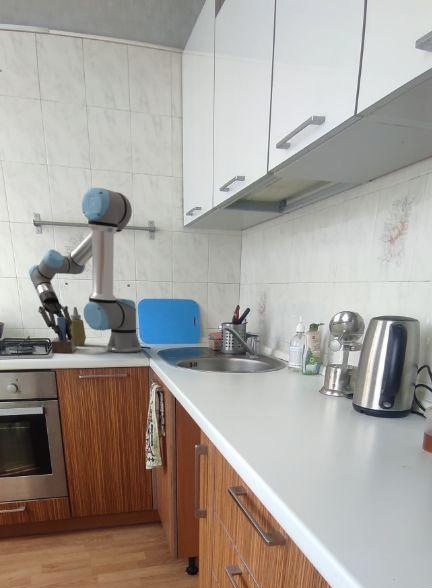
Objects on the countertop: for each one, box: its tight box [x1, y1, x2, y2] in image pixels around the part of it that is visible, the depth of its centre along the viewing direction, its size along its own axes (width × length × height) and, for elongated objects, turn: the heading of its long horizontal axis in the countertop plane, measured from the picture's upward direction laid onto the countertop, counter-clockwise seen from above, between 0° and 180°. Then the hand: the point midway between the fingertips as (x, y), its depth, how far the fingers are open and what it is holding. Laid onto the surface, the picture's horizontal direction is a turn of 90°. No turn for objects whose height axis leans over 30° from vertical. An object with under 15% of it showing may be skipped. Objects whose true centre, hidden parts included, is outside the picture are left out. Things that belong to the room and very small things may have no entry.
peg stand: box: [50, 336, 77, 354], centre depth 214 cm, size 9×15×5 cm, turn 9°
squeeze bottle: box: [70, 306, 87, 347], centre depth 227 cm, size 8×8×18 cm
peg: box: [56, 317, 67, 341], centre depth 208 cm, size 3×3×12 cm
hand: (66, 338), depth 207 cm, fingers closed on peg, 3 cm apart
